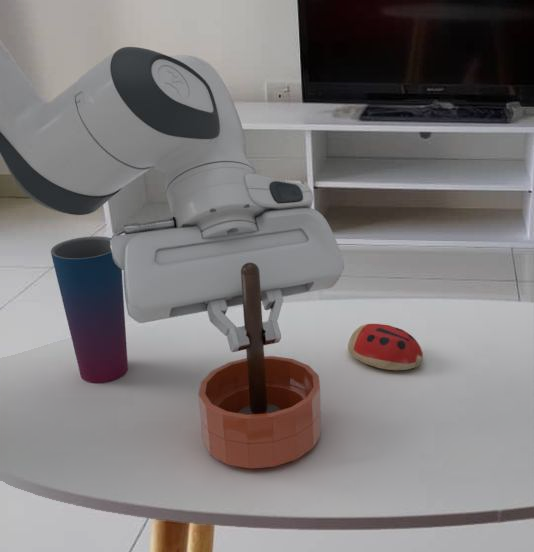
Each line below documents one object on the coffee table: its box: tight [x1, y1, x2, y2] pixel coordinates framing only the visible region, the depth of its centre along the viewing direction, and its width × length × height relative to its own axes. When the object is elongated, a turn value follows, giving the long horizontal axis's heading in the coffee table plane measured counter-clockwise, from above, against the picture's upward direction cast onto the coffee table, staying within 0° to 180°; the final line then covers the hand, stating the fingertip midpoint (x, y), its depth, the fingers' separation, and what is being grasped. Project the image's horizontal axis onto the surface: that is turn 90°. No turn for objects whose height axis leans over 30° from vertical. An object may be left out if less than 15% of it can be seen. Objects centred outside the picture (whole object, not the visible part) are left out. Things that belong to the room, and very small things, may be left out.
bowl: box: [198, 355, 322, 469], centre depth 72 cm, size 11×11×6 cm
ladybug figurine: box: [347, 323, 424, 371], centre depth 88 cm, size 7×10×4 cm
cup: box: [50, 235, 129, 384], centre depth 82 cm, size 7×7×15 cm
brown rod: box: [238, 263, 281, 415], centre depth 69 cm, size 4×4×17 cm
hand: (257, 345), depth 68 cm, fingers closed on brown rod
